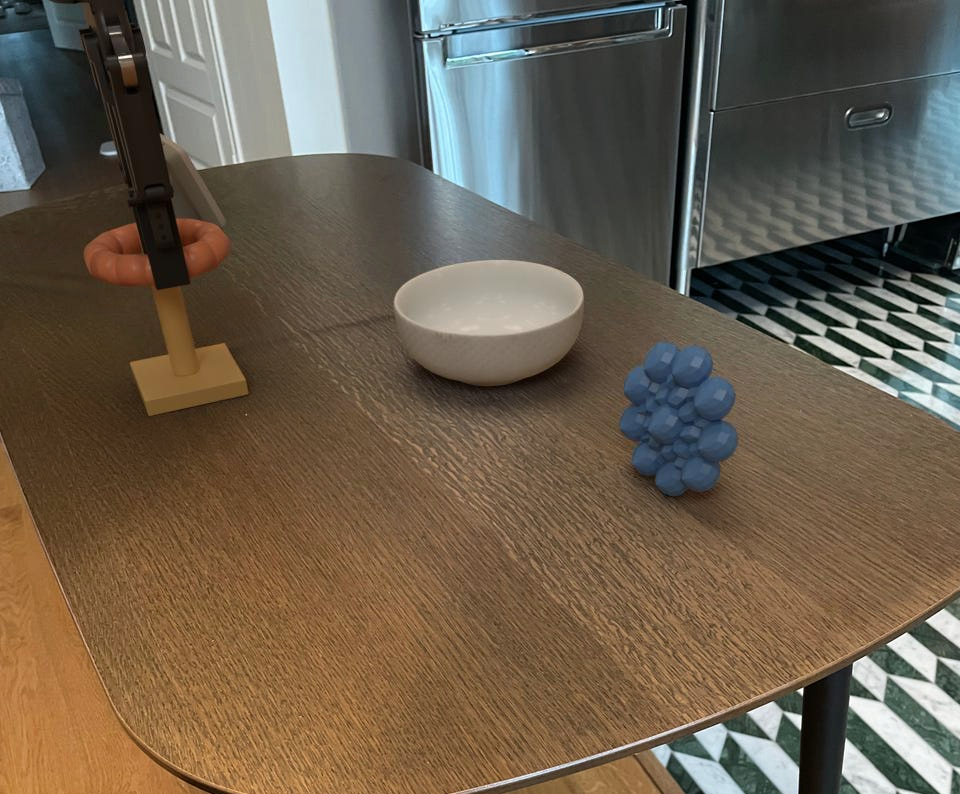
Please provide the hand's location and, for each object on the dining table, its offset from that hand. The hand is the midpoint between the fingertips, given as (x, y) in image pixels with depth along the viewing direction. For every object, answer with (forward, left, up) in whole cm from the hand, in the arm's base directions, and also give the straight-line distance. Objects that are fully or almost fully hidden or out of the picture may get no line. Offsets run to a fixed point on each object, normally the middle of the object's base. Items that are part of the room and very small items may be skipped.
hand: (169, 278), depth 82 cm
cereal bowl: (+5, +26, -12) cm, 29 cm away
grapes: (+31, +30, -12) cm, 45 cm away
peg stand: (-5, 0, -11) cm, 12 cm away
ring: (-5, 0, +1) cm, 5 cm away
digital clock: (-53, +9, -12) cm, 55 cm away
